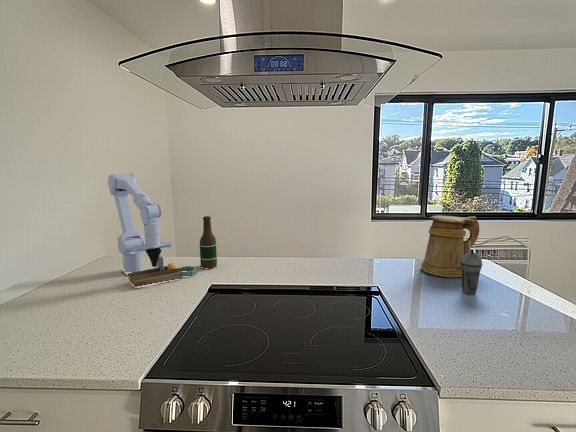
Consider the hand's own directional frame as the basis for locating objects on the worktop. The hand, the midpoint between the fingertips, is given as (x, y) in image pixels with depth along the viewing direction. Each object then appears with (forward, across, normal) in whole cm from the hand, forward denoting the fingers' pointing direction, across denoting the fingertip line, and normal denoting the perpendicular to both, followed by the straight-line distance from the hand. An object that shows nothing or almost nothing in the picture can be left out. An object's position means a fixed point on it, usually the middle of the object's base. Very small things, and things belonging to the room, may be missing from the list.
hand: (154, 266), depth 145 cm
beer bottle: (+7, +26, +4) cm, 27 cm away
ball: (+2, +7, 0) cm, 7 cm away
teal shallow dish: (+6, +13, 0) cm, 15 cm away
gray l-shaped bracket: (+3, +3, 0) cm, 4 cm away
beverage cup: (+7, +88, -86) cm, 124 cm away
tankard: (+7, +107, -68) cm, 127 cm away
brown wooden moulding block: (+6, 0, 0) cm, 6 cm away
